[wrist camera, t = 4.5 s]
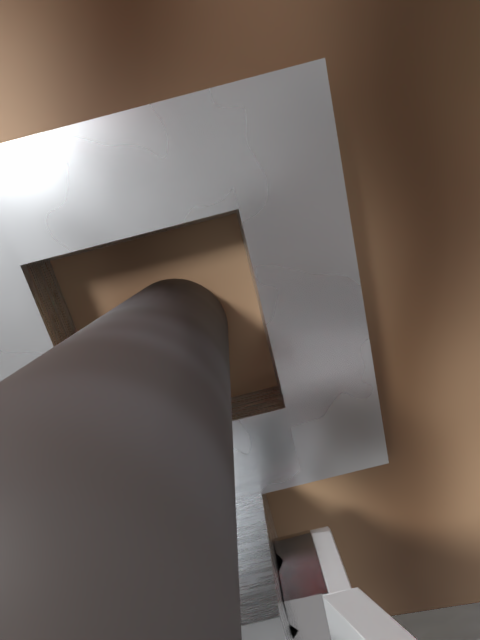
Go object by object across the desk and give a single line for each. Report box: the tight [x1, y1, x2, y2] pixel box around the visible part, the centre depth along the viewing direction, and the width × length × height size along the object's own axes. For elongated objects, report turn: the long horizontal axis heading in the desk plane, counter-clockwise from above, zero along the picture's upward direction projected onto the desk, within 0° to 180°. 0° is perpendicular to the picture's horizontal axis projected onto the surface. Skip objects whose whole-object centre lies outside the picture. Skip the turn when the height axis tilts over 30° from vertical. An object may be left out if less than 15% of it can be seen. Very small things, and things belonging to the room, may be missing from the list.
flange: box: [0, 58, 389, 640], centre depth 7 cm, size 15×9×4 cm, turn 14°
